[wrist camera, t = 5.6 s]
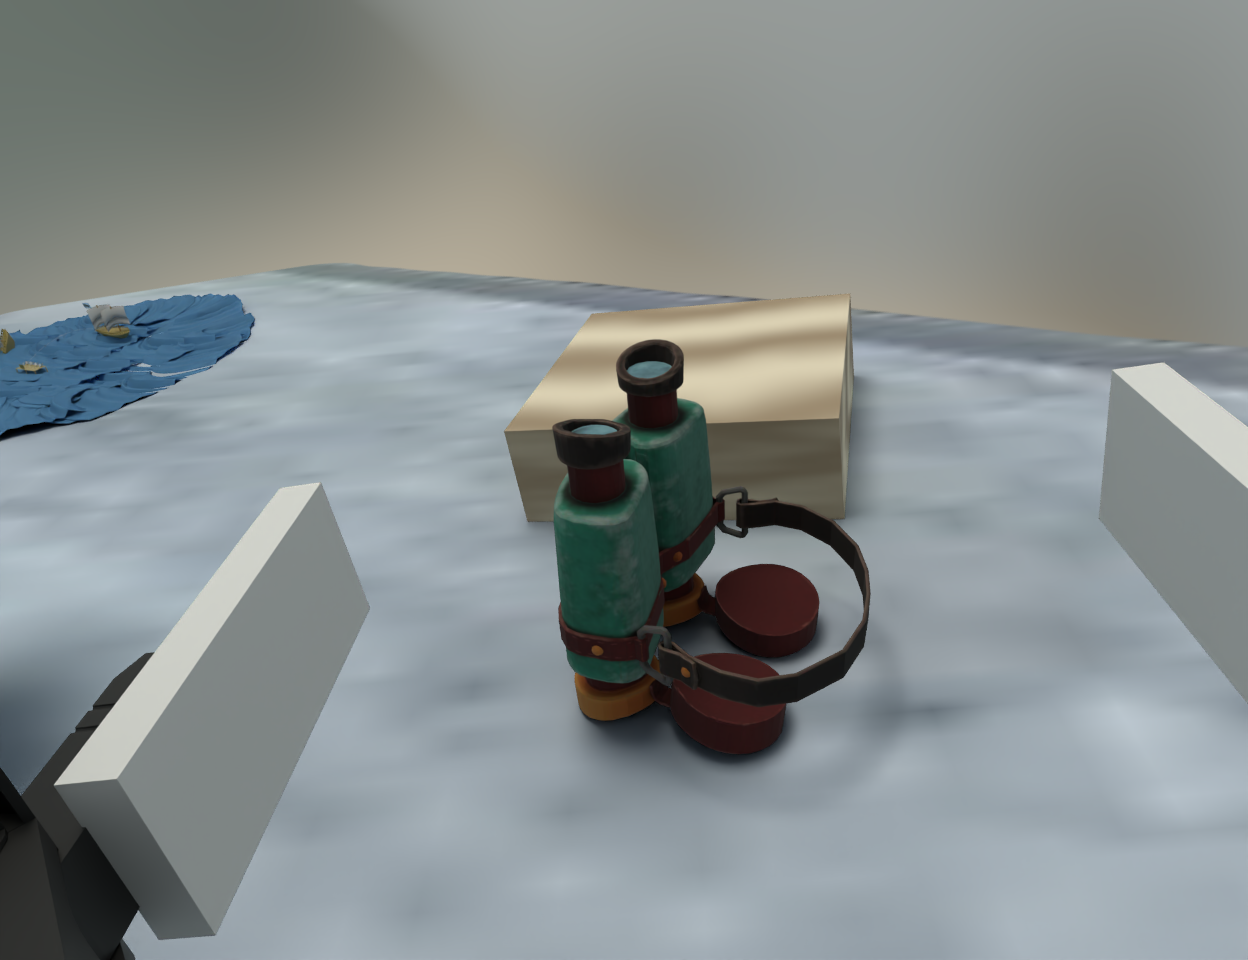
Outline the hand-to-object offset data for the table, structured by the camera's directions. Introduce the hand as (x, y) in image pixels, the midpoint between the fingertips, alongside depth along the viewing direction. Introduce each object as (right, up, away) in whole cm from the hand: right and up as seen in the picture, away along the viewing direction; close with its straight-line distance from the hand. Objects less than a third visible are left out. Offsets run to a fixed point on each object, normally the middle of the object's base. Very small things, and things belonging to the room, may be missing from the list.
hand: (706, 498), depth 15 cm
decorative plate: (-46, +9, +60) cm, 76 cm away
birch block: (+3, +2, +29) cm, 30 cm away
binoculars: (+2, -6, +15) cm, 17 cm away
